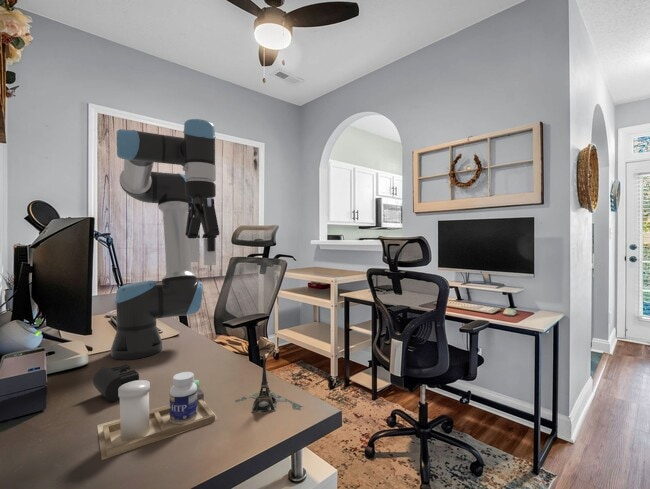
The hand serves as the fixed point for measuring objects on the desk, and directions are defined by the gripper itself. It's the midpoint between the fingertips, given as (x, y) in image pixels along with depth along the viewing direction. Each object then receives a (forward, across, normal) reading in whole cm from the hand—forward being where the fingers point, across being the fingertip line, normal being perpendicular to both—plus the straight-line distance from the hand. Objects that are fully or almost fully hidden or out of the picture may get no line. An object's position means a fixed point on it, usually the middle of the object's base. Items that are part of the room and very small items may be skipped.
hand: (201, 263), depth 87 cm
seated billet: (+30, +17, -18) cm, 39 cm away
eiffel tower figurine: (+32, +21, +8) cm, 39 cm away
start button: (+30, +11, -5) cm, 32 cm away
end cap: (+32, -5, -19) cm, 38 cm away
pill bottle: (+31, +17, -9) cm, 36 cm away
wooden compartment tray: (+32, +16, -14) cm, 38 cm away
